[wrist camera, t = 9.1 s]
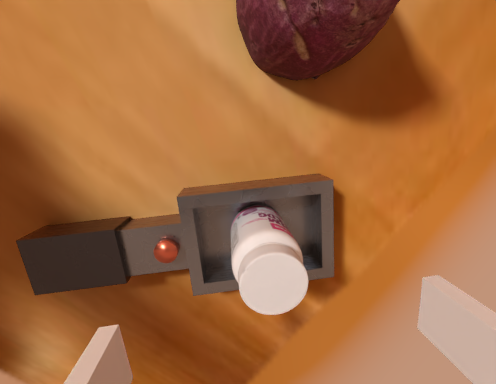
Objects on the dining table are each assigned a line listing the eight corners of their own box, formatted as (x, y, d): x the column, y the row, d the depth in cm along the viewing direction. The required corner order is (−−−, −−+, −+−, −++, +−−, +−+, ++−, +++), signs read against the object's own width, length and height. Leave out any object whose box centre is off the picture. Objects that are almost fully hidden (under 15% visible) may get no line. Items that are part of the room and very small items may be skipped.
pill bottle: (285, 204, 21) (322, 248, 13) (280, 253, 23) (310, 322, 14) (231, 202, 21) (235, 245, 13) (228, 252, 22) (230, 322, 14)
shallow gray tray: (66, 292, 22) (40, 318, 19) (38, 204, 20) (4, 216, 17) (320, 259, 24) (335, 278, 21) (319, 173, 22) (334, 180, 19)
